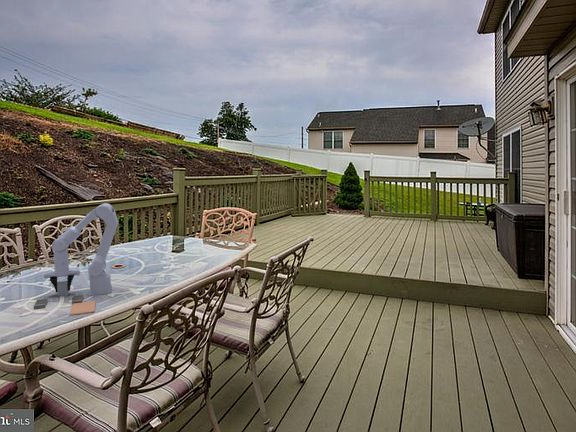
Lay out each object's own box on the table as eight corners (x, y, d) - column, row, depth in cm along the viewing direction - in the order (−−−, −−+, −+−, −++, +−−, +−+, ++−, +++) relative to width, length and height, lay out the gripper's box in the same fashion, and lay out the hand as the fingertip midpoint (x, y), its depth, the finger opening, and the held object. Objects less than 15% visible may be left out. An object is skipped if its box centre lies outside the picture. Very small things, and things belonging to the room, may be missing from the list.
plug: (69, 289, 177) (69, 278, 176) (67, 295, 170) (66, 283, 169) (60, 290, 175) (59, 279, 175) (57, 296, 168) (57, 284, 167)
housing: (83, 297, 167) (83, 294, 167) (82, 303, 160) (81, 299, 160) (37, 302, 159) (37, 299, 159) (33, 309, 152) (33, 305, 152)
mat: (95, 302, 162) (95, 300, 162) (94, 312, 150) (94, 311, 150) (72, 304, 158) (72, 303, 158) (69, 315, 147) (69, 314, 146)
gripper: (79, 260, 175) (81, 286, 177) (44, 262, 169) (46, 290, 171) (78, 263, 169) (80, 291, 171) (41, 266, 163) (43, 295, 164)
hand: (63, 291), depth 170 cm, fingers open, 4 cm apart
